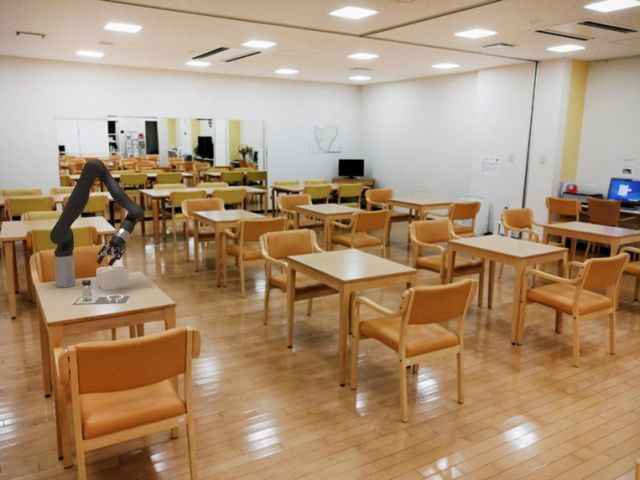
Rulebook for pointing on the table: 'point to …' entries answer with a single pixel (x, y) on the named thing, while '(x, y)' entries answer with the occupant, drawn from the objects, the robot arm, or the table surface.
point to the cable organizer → (112, 277)
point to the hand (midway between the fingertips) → (103, 264)
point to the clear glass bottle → (86, 290)
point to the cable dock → (103, 300)
